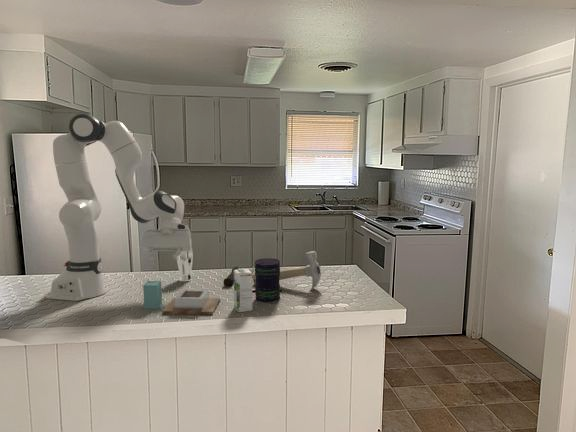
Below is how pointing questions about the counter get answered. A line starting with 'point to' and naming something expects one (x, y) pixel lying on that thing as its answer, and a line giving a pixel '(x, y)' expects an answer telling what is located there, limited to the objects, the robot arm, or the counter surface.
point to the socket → (192, 299)
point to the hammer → (303, 270)
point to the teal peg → (152, 295)
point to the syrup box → (242, 290)
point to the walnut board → (208, 309)
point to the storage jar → (267, 280)
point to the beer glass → (185, 265)
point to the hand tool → (230, 278)
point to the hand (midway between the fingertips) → (162, 258)
